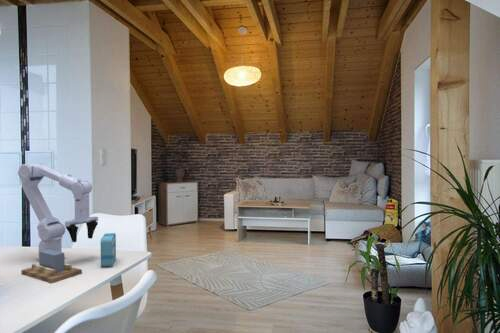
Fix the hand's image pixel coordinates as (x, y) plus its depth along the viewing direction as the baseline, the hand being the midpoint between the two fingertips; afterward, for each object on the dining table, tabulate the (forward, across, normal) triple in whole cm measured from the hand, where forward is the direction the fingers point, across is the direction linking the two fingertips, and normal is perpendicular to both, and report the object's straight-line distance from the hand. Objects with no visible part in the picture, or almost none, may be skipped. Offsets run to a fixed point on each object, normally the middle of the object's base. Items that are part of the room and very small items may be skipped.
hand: (82, 240), depth 150 cm
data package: (+10, +4, -12) cm, 16 cm away
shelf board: (+9, -16, -4) cm, 19 cm away
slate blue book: (+8, -16, -4) cm, 18 cm away
